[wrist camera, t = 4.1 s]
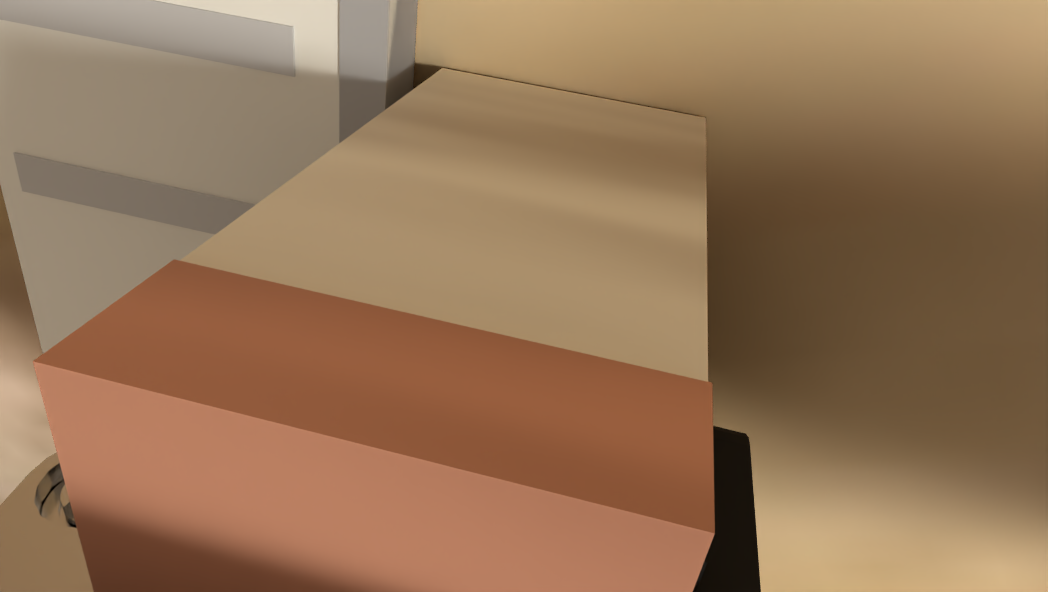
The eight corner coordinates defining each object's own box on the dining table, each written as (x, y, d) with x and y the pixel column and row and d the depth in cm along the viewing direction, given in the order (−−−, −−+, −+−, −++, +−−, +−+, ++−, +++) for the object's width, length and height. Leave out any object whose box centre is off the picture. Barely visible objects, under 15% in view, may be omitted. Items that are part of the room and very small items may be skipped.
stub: (440, 66, 10) (31, 361, 4) (707, 116, 9) (713, 532, 3) (413, 457, 13) (181, 923, 7) (605, 505, 13) (521, 1037, 7)
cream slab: (-24, -191, 9) (-100, -198, 9) (424, -119, 9) (392, -119, 8) (118, 484, 16) (83, 521, 15) (387, 557, 15) (368, 599, 14)
